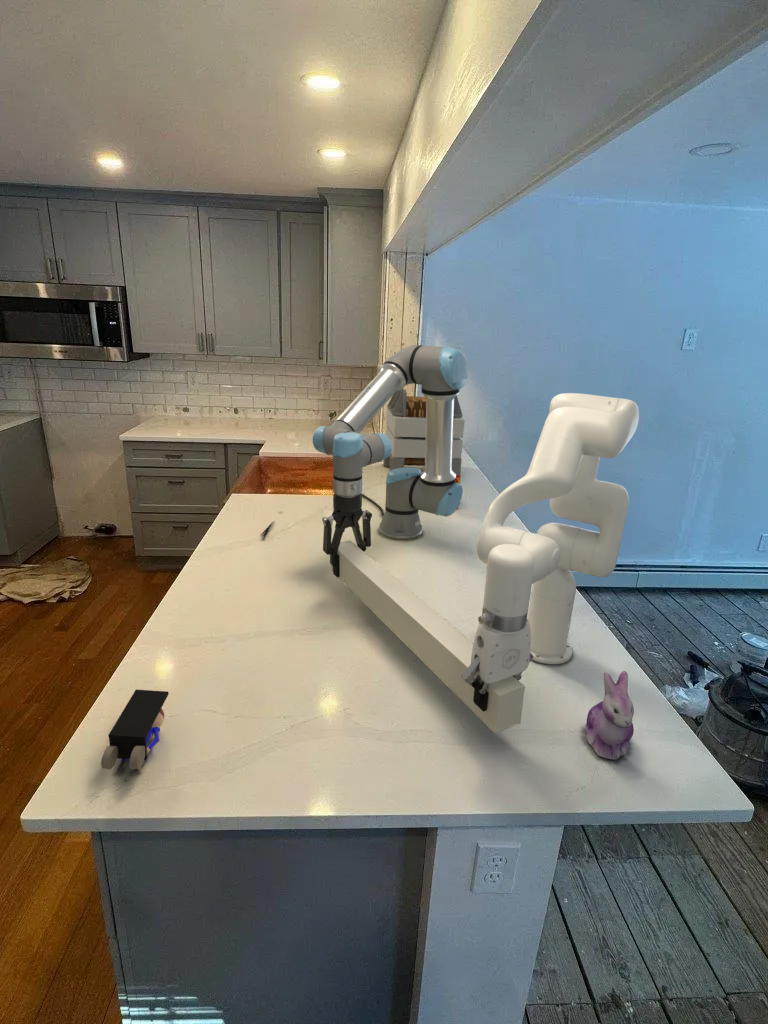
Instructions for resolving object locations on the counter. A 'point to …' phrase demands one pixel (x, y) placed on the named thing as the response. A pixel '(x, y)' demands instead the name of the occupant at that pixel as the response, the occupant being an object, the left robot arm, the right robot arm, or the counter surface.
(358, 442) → the left robot arm
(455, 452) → the grey slatted crate
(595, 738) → the figurine
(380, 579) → the bar
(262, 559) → the counter surface
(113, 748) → the figurine character
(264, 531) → the feather
